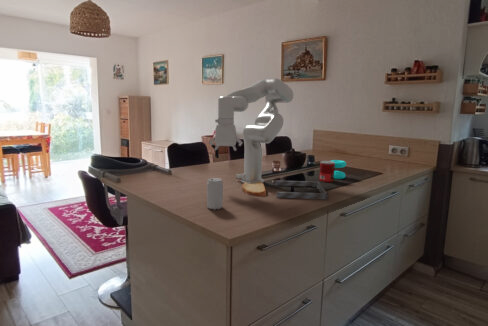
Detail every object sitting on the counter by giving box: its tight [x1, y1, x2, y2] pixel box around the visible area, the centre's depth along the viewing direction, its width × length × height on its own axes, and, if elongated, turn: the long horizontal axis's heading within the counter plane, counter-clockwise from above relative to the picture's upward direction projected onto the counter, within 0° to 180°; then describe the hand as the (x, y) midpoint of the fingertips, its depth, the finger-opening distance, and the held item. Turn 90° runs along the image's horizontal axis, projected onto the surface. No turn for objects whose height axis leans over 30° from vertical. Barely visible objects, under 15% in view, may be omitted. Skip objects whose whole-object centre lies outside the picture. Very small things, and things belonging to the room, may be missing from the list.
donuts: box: [330, 159, 347, 180], centre depth 195 cm, size 10×10×10 cm
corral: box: [274, 179, 329, 200], centre depth 162 cm, size 23×24×2 cm
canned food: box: [319, 160, 336, 183], centre depth 186 cm, size 8×8×11 cm
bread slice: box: [241, 181, 267, 197], centre depth 163 cm, size 18×18×4 cm
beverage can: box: [206, 177, 224, 211], centre depth 133 cm, size 6×6×12 cm
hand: (225, 158), depth 161 cm, fingers open, 7 cm apart
